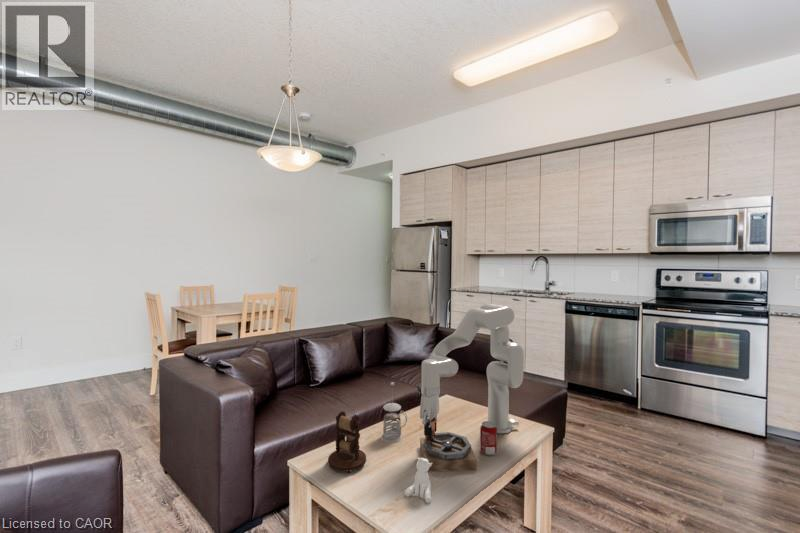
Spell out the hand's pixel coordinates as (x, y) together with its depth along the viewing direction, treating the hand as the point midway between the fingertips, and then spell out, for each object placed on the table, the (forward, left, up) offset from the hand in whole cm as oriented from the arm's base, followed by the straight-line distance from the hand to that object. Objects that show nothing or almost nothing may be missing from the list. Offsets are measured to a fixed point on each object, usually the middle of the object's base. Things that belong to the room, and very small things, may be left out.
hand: (430, 432), depth 158 cm
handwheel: (-6, +5, -4) cm, 9 cm away
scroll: (+34, +8, -9) cm, 36 cm away
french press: (+15, -13, -9) cm, 22 cm away
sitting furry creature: (+7, +27, -9) cm, 29 cm away
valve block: (-6, +5, -8) cm, 11 cm away
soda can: (-24, +1, -9) cm, 26 cm away
